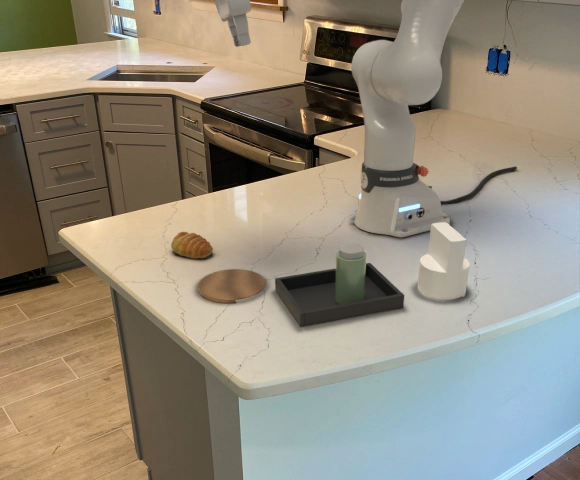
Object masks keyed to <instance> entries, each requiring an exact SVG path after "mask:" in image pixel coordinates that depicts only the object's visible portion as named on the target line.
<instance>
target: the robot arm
mask: <svg viewBox="0 0 580 480" xmlns="http://www.w3.org/2000/svg"><path fill="white" fill-rule="evenodd" d="M213 2H214V5H215V7H216V10H217V13H218V15H219V18H220V19H221V21H222V22H223V23H225V22H227V25H228V29H229V32H230V35H231V37H232V41H233V44H234V45H233V46H234V47H236V48H238V47H244V46H248V45H250V44H251V43H252V42H251V37H250V31H249V21H248V17H247V14H248V13H250V12H252V5H251V0H213ZM464 3H465V0H402V1H401V4H400V13H401V21H400V26H399V29H398V32H397V35H396V37H395V39H394V41H391V40H387V39H377V40H372V41H369V42H366V43H364V44H362V45H361V46H360V47H359V48H357V50H356V52H355V53H354V55H353V57H352V61H351V74H352V77H353V79H354V81H355V83H356V86H357V89H358V94H359V100H360V106H361V111H362V116H363V127H364V148H363V149H364V150H363V162H362V163H361V170H360V171H361V172H360V188H361V192H360V194H358V199H359V203H358V209H357V212H356V215H355V217H354V222H353V223H354V224H355V226H356V227H357V228H358V229H361V230H362V231H365V232H368V233H372V234H377V235H378V234H380V235H386V236H392V237H395V238H406V237H409V236H413V235H417V234H422V233H426V232H430V231H431V224H433V223H441V222H447V223H448V224H449V225H450V226H451V218H450V217H449V215H448V214H447V213H446V212H445V211H443V210H442V205H450V204H456V203H459V202H462V201H466V200H468V199H470V198H472V197H473V196H475V195H476V194H477V192H479V191H480V190H481V189H482V188H483V186H484V184H485V183H486V182H487V181H488V180H490V179H491V178H492V177H494V176H496V175H499V174H503V173H506V172H511V171H512V172H513V171H516V170H518V167H517V166H516V165H515V166H511V167H506V168H502V169H498V170H494V171H493V172H491V173H489V174H488V175H486V176H485V177H483V179H482V180H481V181H480V182H479V184H478V185H477V186H476V187H475V188H474V189H473V190H472V191H471V192H469V193H468V194H465V195H462V196H460V197H456V198H453V199H450V200H449V199H448V200H441V198H440V196H439V195H438V193H437V192H436V191H434V190H433V186H431V185H427V184H426V183H425V182H424V181H423V180H421V179H420V177H423V178H425V177H427V176H428V174H429V168H427V167H425V166H424V165H419V164H418V163H415V162H414V158H415V148H416V146H415V145H416V137H417V136H416V134H417V130H416V125H415V123H414V120H413V119H412V116H411V113H410V109H409V106H420V105H424V104H426V103H428V102H430V101H431V100H432V99H433V98H434V97H435V96H436V95H437V94H438V92H439V90H440V89H441V85H442V82H443V69H442V64H441V59H442V53H443V49H444V46H445V42H446V38H447V35H448V33H449V31H450V29H451V26H452V24H453V23H454V20H455V19H456V17H457V15H458V13H459V11H460V9H461V7H462V6H463V4H464ZM419 176H420V177H419Z"/></svg>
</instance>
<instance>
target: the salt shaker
mask: <svg viewBox="0 0 580 480" xmlns="http://www.w3.org/2000/svg"><path fill="white" fill-rule="evenodd" d="M366 263H367V253H366V252H365V247H364V246H363V245H361V244H359V243H355V242H347V243H343V244H341V245H339V247H338V251H336V253H335V268H336V273H335V300H336V302H337V303H339V304H346V303H352V302H358V301H363V300H364V295H365V275H366Z"/></svg>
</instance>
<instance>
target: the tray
mask: <svg viewBox="0 0 580 480" xmlns="http://www.w3.org/2000/svg"><path fill="white" fill-rule="evenodd" d="M335 273H336V267H335V268H328V269H323V270H318V271H317V270H316V271H312V272H305V273H299V274H293V275H286V276H281V277H275V278H274V283H275V284H274V289H275V292H276V294H277V295H278V297H279V298H280V299H281V301H282V302H283V304H284V306H285V307H286V308H287V310H288V311H289V312H290V314H291V315H292V317H293V318H294V320H295V321H296V323H297V324H298V326H299V327H300V328H303V327H308V326H309V327H310V326H314V325H319V324H324V323H329V322H335V321H341V320H345V319H346V320H347V319H352V318H357V317H362V316H367V315H371V314H378V313H383V312H388V311H393V310H400V309H403V308H404V306H405V305H404V304H405V294H404V293H403V292H402V291H401V290H400V289H399V288H398V287H396V286H395V284H393V283H392V282H391V280H389V279H388V278H387V277H386V276H385V275H384V274H383V273H382V272H380V270H378V269H377V268H376V266H374V265H373V264H372V263H371V262H366V275H365V295H364V300H363V301H358V302H352V303H346V304H339V303H337V302H336V300H335Z"/></svg>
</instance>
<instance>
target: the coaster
mask: <svg viewBox="0 0 580 480" xmlns="http://www.w3.org/2000/svg"><path fill="white" fill-rule="evenodd" d="M197 285H198V286H197V287H198V288H197V289H198V293H199V295H201V296H202V297H203V298H204V299H206V300H209V301H211V302H215V303H222V304H234V303H235V304H236V303H237V301H239V300H246V299H249V298H251V297H254V296H256V295H259V293H261V292H262V291H263V290H264V289H265V288H266V280H265V278H264V276H262V275H261V274H259V273H258V272H255V271H252V270H248V269H242V268H241V269H240V268H236V269H235V268H231V269H230V268H229V269H221V270H218V271H217V270H216V271H214V272H212V273H209V274H207V275H205V276H204V277H203V278H201V279H200V281H199V282H198V284H197Z"/></svg>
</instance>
